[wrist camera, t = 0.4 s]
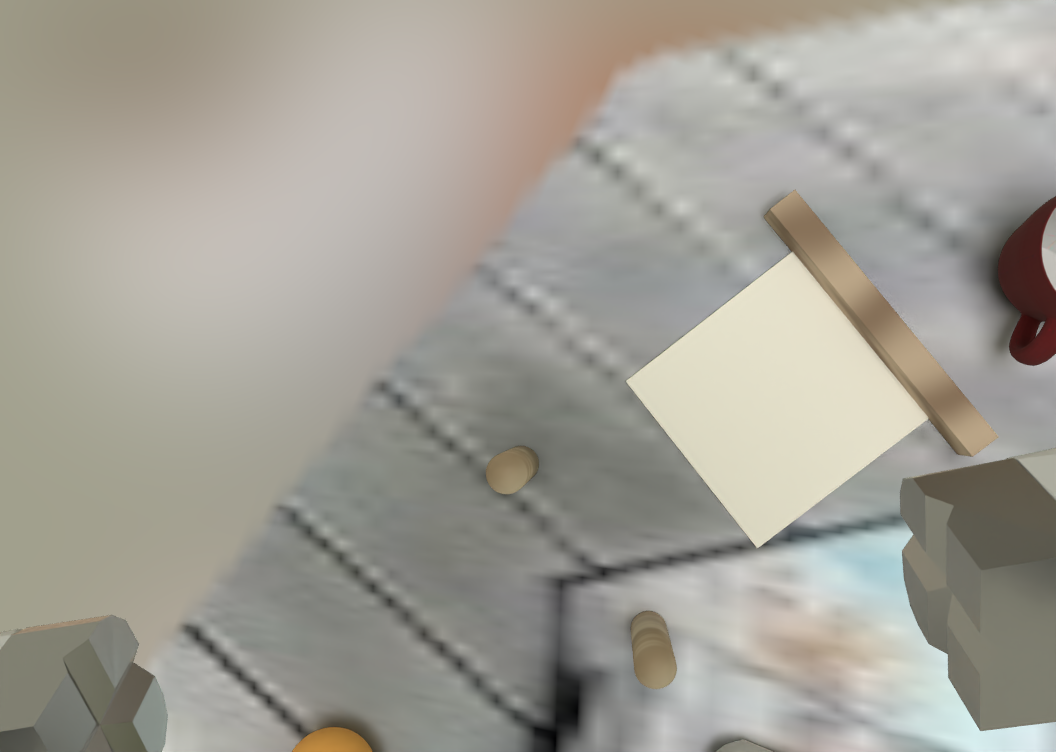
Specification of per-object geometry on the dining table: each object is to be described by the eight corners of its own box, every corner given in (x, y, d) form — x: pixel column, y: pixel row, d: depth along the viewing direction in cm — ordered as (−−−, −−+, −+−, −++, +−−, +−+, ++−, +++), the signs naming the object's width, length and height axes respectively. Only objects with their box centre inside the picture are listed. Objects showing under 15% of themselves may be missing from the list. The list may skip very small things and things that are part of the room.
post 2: (674, 632, 61) (685, 672, 52) (645, 654, 61) (651, 697, 52) (651, 603, 61) (658, 637, 52) (623, 625, 61) (625, 663, 52)
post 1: (546, 466, 62) (535, 477, 53) (518, 488, 62) (502, 502, 53) (524, 438, 62) (510, 444, 53) (496, 460, 63) (477, 469, 54)
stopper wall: (982, 435, 60) (998, 436, 57) (957, 454, 60) (972, 456, 57) (787, 198, 61) (794, 189, 59) (763, 217, 61) (770, 209, 59)
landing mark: (927, 418, 60) (928, 418, 60) (756, 547, 61) (757, 548, 61) (792, 251, 61) (792, 251, 61) (625, 381, 62) (625, 381, 62)
